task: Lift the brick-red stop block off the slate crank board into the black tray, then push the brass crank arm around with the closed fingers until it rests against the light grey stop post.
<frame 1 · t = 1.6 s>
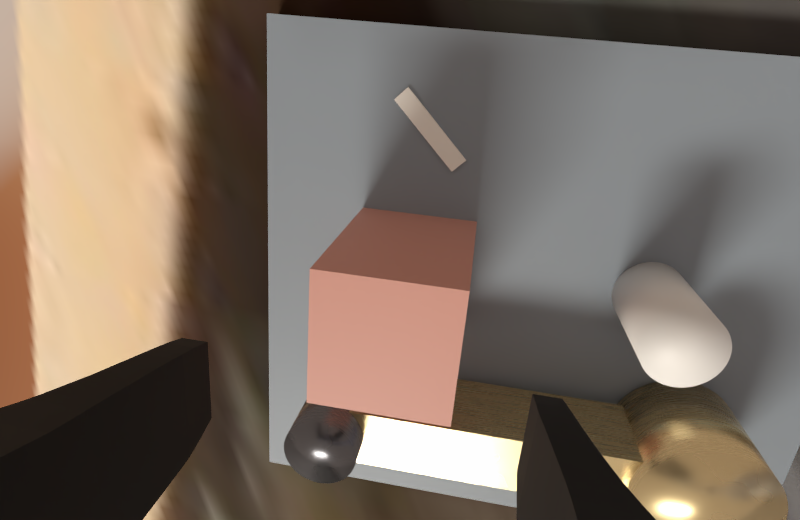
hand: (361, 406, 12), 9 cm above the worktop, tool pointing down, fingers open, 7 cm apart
crank board: (534, 299, 20), on the worktop
stop block: (414, 267, 20), point 1 cm above the worktop, touching crank board
crank: (520, 444, 19), point 3 cm above the worktop, hinge at 0.0°
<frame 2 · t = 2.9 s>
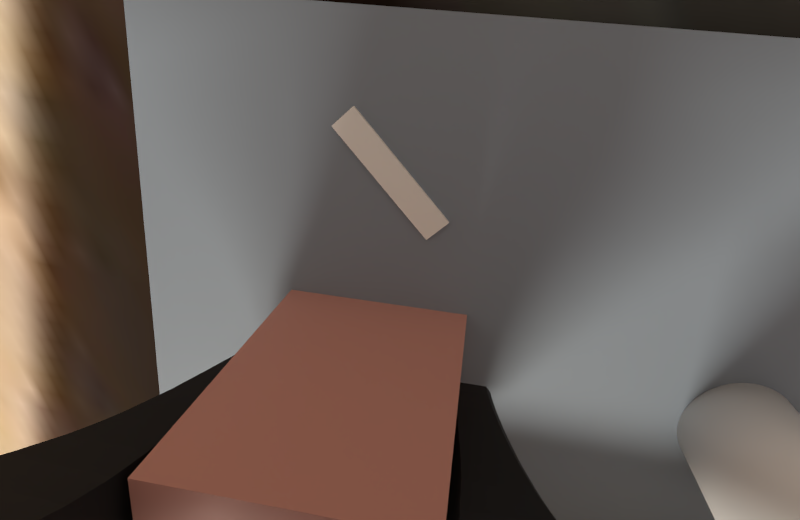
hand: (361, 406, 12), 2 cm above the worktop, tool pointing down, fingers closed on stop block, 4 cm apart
crank board: (553, 419, 14), on the worktop
stop block: (371, 378, 13), point 1 cm above the worktop, touching crank board, gripper
when the fingers open (3 cm above the worktop, at t = 7.2 s): stop block drops 1 cm, resting on tray.
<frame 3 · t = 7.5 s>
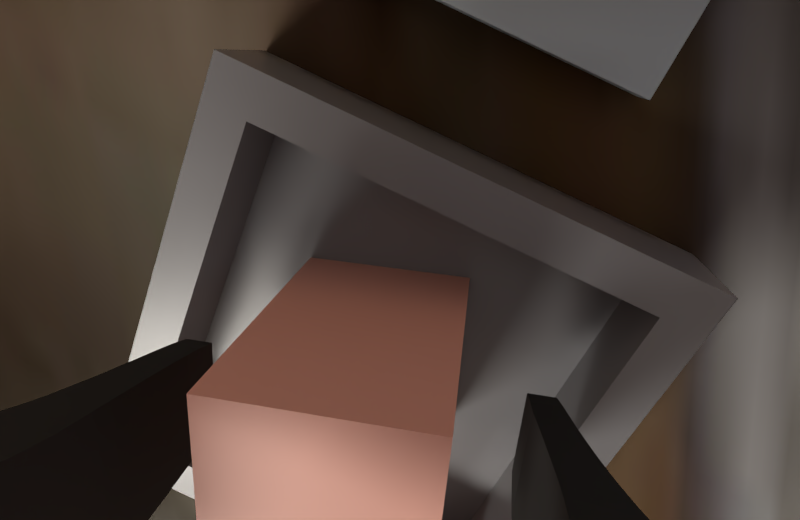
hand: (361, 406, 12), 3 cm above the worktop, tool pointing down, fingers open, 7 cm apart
stop block: (383, 338, 14), resting on tray
tray: (387, 337, 15), on the worktop
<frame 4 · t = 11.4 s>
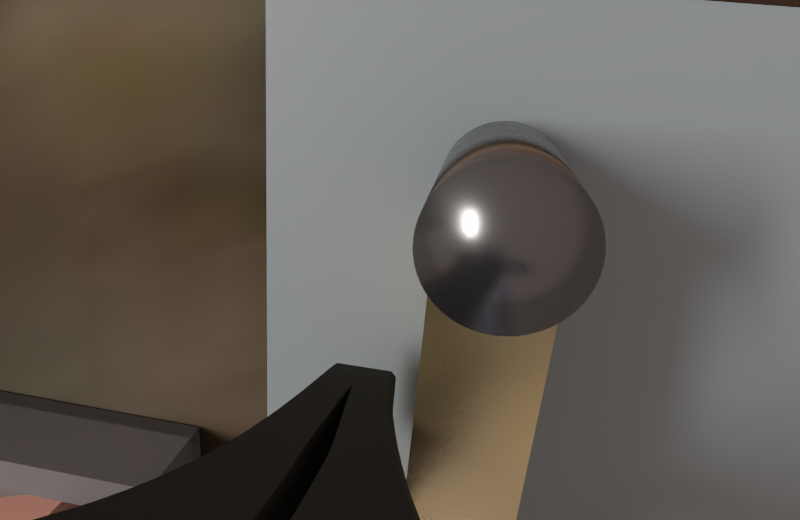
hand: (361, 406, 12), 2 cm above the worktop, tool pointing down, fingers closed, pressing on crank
crank board: (620, 440, 14), on the worktop
crank: (455, 512, 11), point 3 cm above the worktop, hinge at 0.0°, touching gripper
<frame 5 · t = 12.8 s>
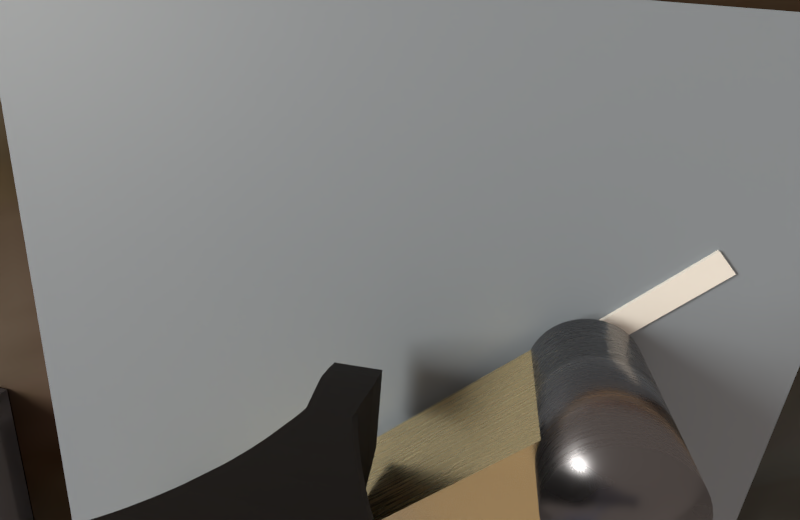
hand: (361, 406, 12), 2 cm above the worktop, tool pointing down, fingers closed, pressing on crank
crank board: (376, 400, 15), on the worktop
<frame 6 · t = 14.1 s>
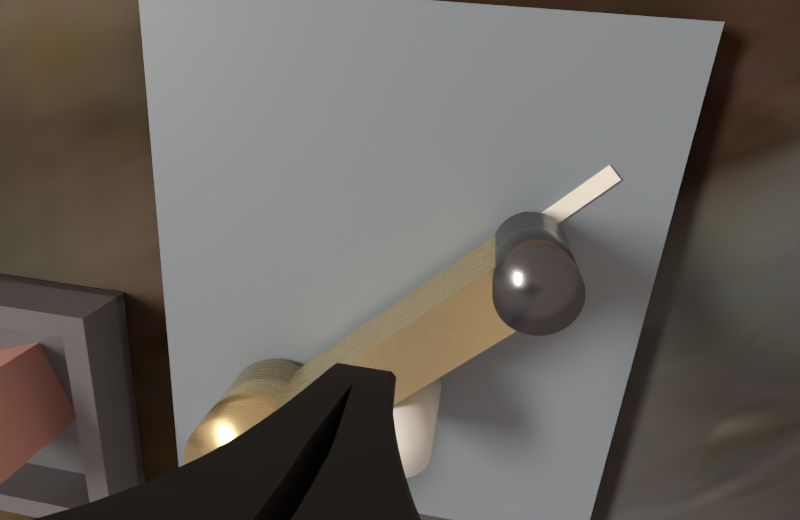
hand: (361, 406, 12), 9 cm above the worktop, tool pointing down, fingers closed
crank board: (392, 286, 21), on the worktop
stop block: (24, 386, 25), resting on tray
crank: (371, 370, 19), point 3 cm above the worktop, hinge at -46.3°, touching crank board
tray: (28, 381, 26), on the worktop
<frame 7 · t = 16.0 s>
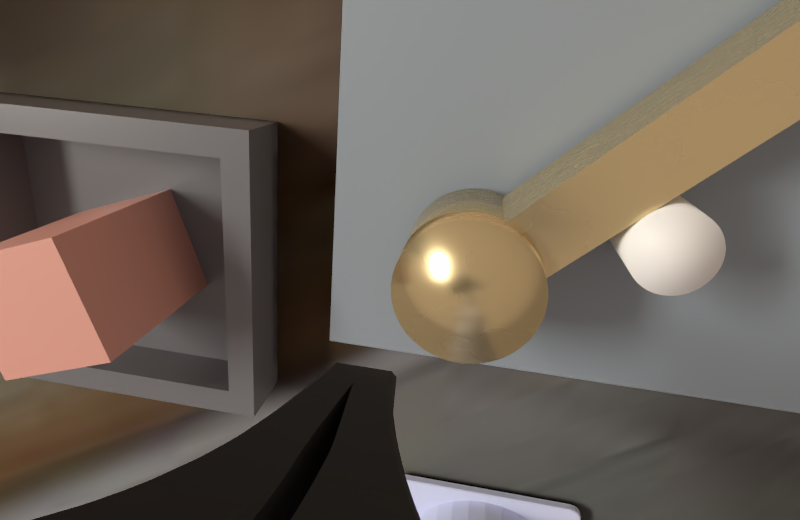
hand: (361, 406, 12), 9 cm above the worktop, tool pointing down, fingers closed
crank board: (620, 94, 18), on the worktop
stop block: (146, 248, 22), resting on tray
crank: (631, 166, 15), point 3 cm above the worktop, hinge at -46.3°, touching crank board
tray: (148, 245, 22), on the worktop
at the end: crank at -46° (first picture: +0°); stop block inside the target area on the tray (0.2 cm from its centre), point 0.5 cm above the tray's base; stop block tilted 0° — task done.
